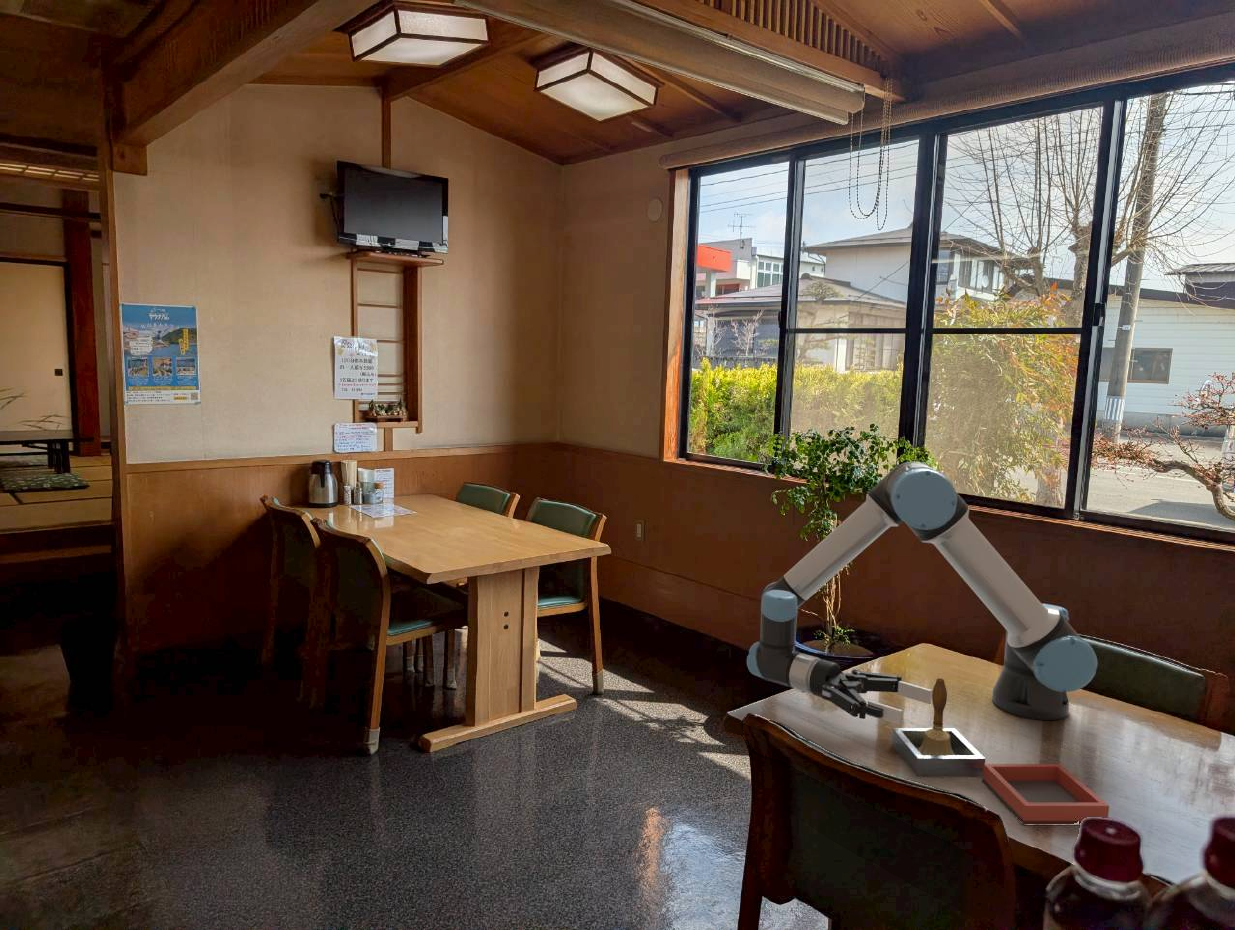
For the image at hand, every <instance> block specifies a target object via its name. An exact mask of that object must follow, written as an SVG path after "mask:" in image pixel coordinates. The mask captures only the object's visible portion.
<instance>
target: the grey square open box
mask: <svg viewBox="0 0 1235 930" xmlns="http://www.w3.org/2000/svg"><path fill="white" fill-rule="evenodd" d="M928 729H933V727H928V728H927V727H925V728H924V727H918V728H917V727H910V728H909V727H892V730H891V746H892V748H893V749H894V750H895V752H896V753H897V754H898V755H899V757H900V758H901V759H902V760H903V762H905V765H907V767H908V768H909V769H910V770H911V772H913V774H914V775H915V776H916V777H917V778H922V777H923V778H925V777H927V778H929V777H930V778H937V777H938V778H940V777H941V778H942V777H943V778H946V777H947V778H948V777H949V778H951V777H952V778H959V777H960V778H965V777H966V778H968V777H969V778H970V777H971V778H976V777H977V778H978V777H979V778H983V767H984V764H986V758H985V757H984V756H983V754H981V753H980V751H978V750H977V748H975V747H974V745H972V744H971V743H970V742H969V741H968V740H967V739H966V738H965V737H964V736H963V735H962V734H961V733H960V732H959V731H958V730H957V729H956V728H953V727H952V728H950V727H949V728H948V727H946V728H944V727H943V731H945V732H947V733H948V734H949V735H950V742H951V748H952V751H953V754H954V755H921V753H920V752H919V751H918V750H917V749H919V748H920V747H921V745H922V743H923V740H924V736H925V732H926V731H927V730H928Z"/></svg>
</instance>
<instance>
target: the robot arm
mask: <svg viewBox="0 0 1235 930" xmlns="http://www.w3.org/2000/svg"><path fill="white" fill-rule="evenodd" d="M865 499H866V500H865V502H863V503H862V504H861V505H860V506H858V508H857V509H856V510H854V511H853V512H851V514H850V515H849V516H848V517H847V518H846V519H845V520H843V521H842V522H841V523H840V524H839V525H838V526H837V527H835V529H834V530H832V531H830V533H829V534H828V535H826V536H825V538H824V539H822V540H821V541H820V542H819V543H818V544H816V546H815V547H814V548H812V549H811V550H810V551H809V552H807V554H806V555H804V556H803V558H801V559H800V560H799V561H798V562H797V563H796V564H795V565H794V566H793V567H792V568H790V569H789V570H788V571H787V572H786V573H785V574H783V576H781V578H779V579H778V580H777V581H774V582H771V583H769V584H767V586H765V588H764V590H763V592H762V594H761V601H760V602H761V603H760V639H759V641H756V642H754V643H753V644H752V645H751V646H750V648H749V650H748V655H747V656H746V666H747V668H748V671H749V672H750V674H752V675H754V676H756V677H759V678H761V679H763V680H764V681H768V682H773V683H776V684H779V685H782V686H785V687H790V688H792V689H794V690H795V689H796V690H797V691H798V690H799V691H800V692H801V693H802V694H806V693H807V694H812V695H813V696H816V697H819V698H822V699H823V700H825V701H828V702H830V703H832V704H833V705H835V706H836V707H838V708H839V709H841V710H843V711H844V712H845V713H847V714H848V715H850V716H851V717H855V718H857V717H858V718H859V719H861V720H864V719H866V717H867V716H870V717H873V718H876V719H879V720H881V721H885V722H888V723H892V724H894V725H897V726H901V725H902V723H903V709H899V708H896V707H893V706H890V705H887V704H883V703H880V702H877V701H874V700H871V699H869V700H867V701H866V700H865V699H864V698H863V697H862V696H861V695H860V694H867V693H868V692H874V693H875V692H880V693H897V695H898V696H901V697H903V698H904V697H905V698H908V699H911V700H914V701H917V702H921V703H924V704H927V705H930V704H932V692H933V689H929V688H927V687H924V686H923V687H922V686H920V685H916V684H912V683H909V682H906V681H902V680H903V677H902V676H901V675H899V674H897V675H894V674H888V673H880V672H871V671H865V670H864V671H863V670H859V669H855V668H854V669H852V670H851V672H850V673H844V672H843V671H842V669H841V666H840V665H839V663H836V662H834V661H829V660H826V659H823V658H822V659H821V658H819V657H817V656H814V655H809V654H806V653H803V652H799V651H796V634H797V618H798V613H799V610H798V609H799V608H800V607H801V606H802V605H804V603H806V601H808V600H809V599H810V597H812V596H813V595H815V593H816V592H818V591H819V590H820V589H821V588H823V587H824V586H825V585H826V583H828V582H829V581H830V580H831V579H833V578H834V577H835V576H836V575H837V574H838V573H839V572H841V570H843V569H844V568H845V567H846V566H848V565H849V563H850V562H852V561H853V560H854V559H855V558H857V556H858V555H859V554H861V553H862V552H863V551H864V550H865V549H866V548H868V547H869V546H870V545H871V544H872V543H873V542H875V541H876V540H877V539H878V538H879V537H880V536H882V534H883V533H885V532H886V531H887V530H888V529H889V528H891V527H899V526H900V525H901V524H902V523H903V522H904V524H906V526H908V528H909V529H910V530H911V531H912V533H913V534H914V535H915V536H916V537H917V539H918V540H920V541H921V543H925V544H926V543H927V544H932V545H934V547H936V549H937V550H938V551H939V553H940V554H941V555H942V556H943V557H944V559H946V561H947V563H949V564H950V566H952V568H953V569H954V570H955V571H956V572H957V574H958V575H959V576H960V577H961V579H963V581H964V582H965V583H966V584H967V585H968V587H969V588H970V589H971V590H972V591H973V592H974V593H975V595H976V596H977V597H978V598H979V599H980V601H982V603H983V604H984V605H985V607H986V608H987V609H988V610H989V611H990V612H991V613H992V615H993V617H995V619H996V620H997V621H999V623H1000V625H1001V626H1002V627H1003V628H1004V629H1005V630H1006V634H1005V645H1004V660H1003V666H1002V670H1001V672H1000V674H999V676H998V677H997V679H996V683H995V685H994V687H993V688H992V694H991V695H992V696H991V700H992V702H993V704H994V705H996V706H997V707H998V708H1000V709H1001V710H1003V711H1005V712H1007V713H1010V714H1013V715H1015V716H1016V715H1017V716H1019V717H1023V718H1027V719H1034V720H1040V721H1041V720H1043V721H1056V720H1062V719H1064V718H1067V717H1068V715H1069V708H1070V701H1069V697H1068V695H1067V693H1071V692H1075V691H1078V690H1081V689H1082V688H1084V687H1086V686H1087V685H1088V684H1089V683H1090V682H1091V681H1092V680H1093V679H1094V678H1095V675H1096V672H1097V670H1098V658H1097V655H1096V653H1095V650H1094V649H1093V647H1092V646H1091V643H1090V642H1088V641H1087V640H1085V639H1083V638H1082V637H1081V636H1080V635H1079V634H1078V633H1077V631H1076V630H1075V629H1074V628H1073V627H1072V626H1071V624H1070V623H1069V621H1070V617H1069V611H1068V610H1067V609H1066V608H1064V607H1062V606H1059V605H1054V604H1048V603H1042V602H1041V601H1040V600H1039V599H1038V597H1036V596H1035V594H1034V593H1033V592H1032V591H1031V589H1030V588H1029V587H1028V586H1027V585H1026V584H1025V583H1024V581H1023V580H1022V579H1021V578H1020V577H1019V575H1018V574H1017V573H1016V572H1015V571H1014V570H1013V569H1012V567H1011V566H1010V565H1009V564H1008V562H1007V561H1006V560H1005V559H1004V558H1003V557H1002V556H1001V554H1000V553H999V552H998V551H997V550H996V549H995V547H994V546H993V545H992V544H991V543H990V542H989V540H988V539H987V538H986V537H985V535H984V534H982V532H981V531H980V530H979V528H977V526H976V525H975V524H974V523H973V522H972V521H971V520H970V518H969V513H970V506H969V505H968V504H967V503H966V501H965V500H964V498H963V497H961V496H960V494H959V493H958V492H957V491H956V488H955V487H954V485H953V483H952V482H951V481H950V479H949V478H948V477H947V476H946V475H944V473H942V472H940V471H938V470H936V469H934V468H932V467H931V466H930V465H928V464H926V463H923V462H919V461H908V462H903V463H900V464H898V465H896V466H895V467H894V468H892V469H891V470H890V471H889V472H888V473H887V474H886V475H885V476H884V477H883V478H882V479H880V481H879V482H878V483H877V484H876V485H875V486H874V487H873V488H871V490H870V491H869V492H867V493H866V497H865ZM866 715H867V716H866Z"/></svg>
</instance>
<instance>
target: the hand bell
mask: <svg viewBox="0 0 1235 930" xmlns="http://www.w3.org/2000/svg"><path fill="white" fill-rule="evenodd" d="M947 700H948V691H947V686H946V684H945V679H943V678H941V677H937V678H936V681H935V684H934V685H933V688H932V698H931V703H932V707H933V722H932V724H933V725H932V728H933V729H928V730H927V731H926V732H925V736H924V740H923V743H922V745H921V747H920V748H916V749H917V750H918V751H919V752H920V753H921V755H955V753H954V752H953V751H952V748H951V742H950V735H949V734H948V733H947V732H945V731H943V728H944V726H943V725H944V723H943V722H944V710H945V708H946V705H947Z"/></svg>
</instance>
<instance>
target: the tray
mask: <svg viewBox="0 0 1235 930" xmlns="http://www.w3.org/2000/svg"><path fill="white" fill-rule="evenodd" d="M981 778H982V780H981V781H982V783H983V785H984V786H986V788H988V790H989V791H991V792H992V794H993V795H994V796H995V797H996V798H997V799H998V800H999V801H1000V802H1001V803H1002V804H1003V805H1004V807H1006V809H1008V811H1010V813H1011V814H1012V815H1013V816H1014V815H1015V816H1014V817H1015V818H1016V817H1017V818H1018V819H1017V818H1016V819H1017V820H1018V821H1019V820H1020V821H1021V822H1022V823H1023V824H1074V823H1077V822H1078V821H1079V824H1080V823H1081V821H1082V820H1083V819H1084V818H1087V817H1102V818H1108V819H1109V812H1110V811H1109V810H1110V805H1109V804H1108V803H1107V802H1105V801H1104V800H1103V799H1102V798H1101V797H1100V796H1098V795H1097V794H1096V793H1095V792H1094V791H1092V789H1090V788H1089V787H1088V786H1087V785H1085V784H1084V783H1083V782H1082V781H1081V780H1079V779H1078V778H1077V777H1076V776H1074V775H1073V774H1072V773H1071V772H1070V771H1069V770H1067V768H1065V767H1064V766H1062V765H1061V764H1060V763H985V764H984V767H983V777H981ZM1020 821H1019V822H1020ZM1021 822H1020V823H1021ZM1022 823H1021V824H1022ZM1023 824H1022V825H1023Z"/></svg>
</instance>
